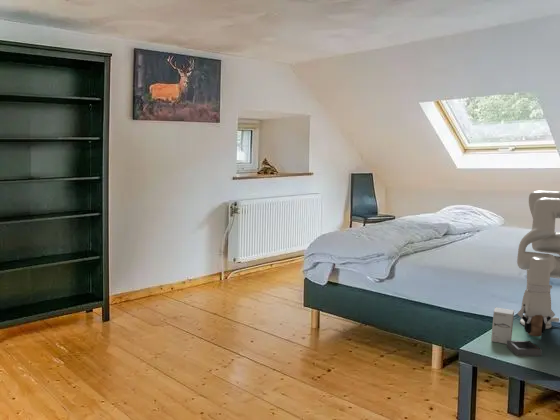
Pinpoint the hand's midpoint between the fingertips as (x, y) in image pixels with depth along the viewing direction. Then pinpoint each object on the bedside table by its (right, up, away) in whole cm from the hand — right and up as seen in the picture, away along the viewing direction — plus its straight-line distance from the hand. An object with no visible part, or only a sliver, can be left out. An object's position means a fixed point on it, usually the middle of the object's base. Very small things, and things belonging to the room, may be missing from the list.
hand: (534, 331), depth 212 cm
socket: (-8, -6, -8) cm, 13 cm away
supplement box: (-12, -5, +3) cm, 13 cm away
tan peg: (0, -2, 0) cm, 3 cm away
